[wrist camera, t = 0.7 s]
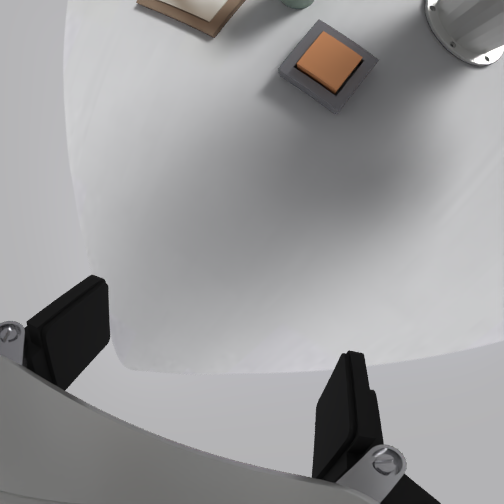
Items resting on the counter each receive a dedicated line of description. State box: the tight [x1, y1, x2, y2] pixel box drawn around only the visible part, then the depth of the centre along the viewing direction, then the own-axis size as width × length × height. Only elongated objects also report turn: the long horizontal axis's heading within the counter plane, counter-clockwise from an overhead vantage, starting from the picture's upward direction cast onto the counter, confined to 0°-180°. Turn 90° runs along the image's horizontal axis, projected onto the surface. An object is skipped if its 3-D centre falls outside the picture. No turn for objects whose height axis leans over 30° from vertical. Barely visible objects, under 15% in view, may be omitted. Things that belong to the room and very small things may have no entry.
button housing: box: [278, 20, 379, 114], centre depth 30 cm, size 8×8×4 cm
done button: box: [297, 31, 363, 95], centre depth 28 cm, size 5×5×3 cm
